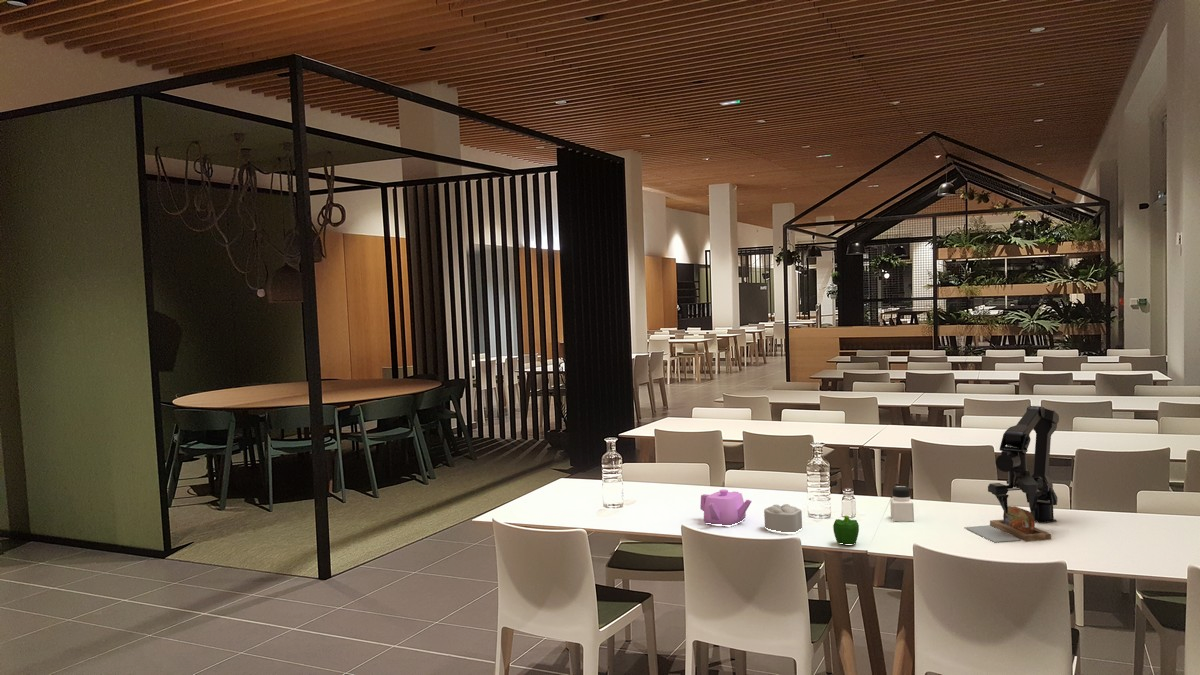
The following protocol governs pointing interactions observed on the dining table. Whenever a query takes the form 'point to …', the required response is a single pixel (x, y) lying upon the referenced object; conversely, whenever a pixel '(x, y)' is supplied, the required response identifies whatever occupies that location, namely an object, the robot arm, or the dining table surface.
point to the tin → (1019, 519)
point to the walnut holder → (1016, 533)
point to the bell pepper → (846, 530)
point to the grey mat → (992, 534)
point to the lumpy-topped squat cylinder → (783, 518)
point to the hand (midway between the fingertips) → (1019, 512)
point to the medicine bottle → (901, 504)
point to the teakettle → (724, 507)
